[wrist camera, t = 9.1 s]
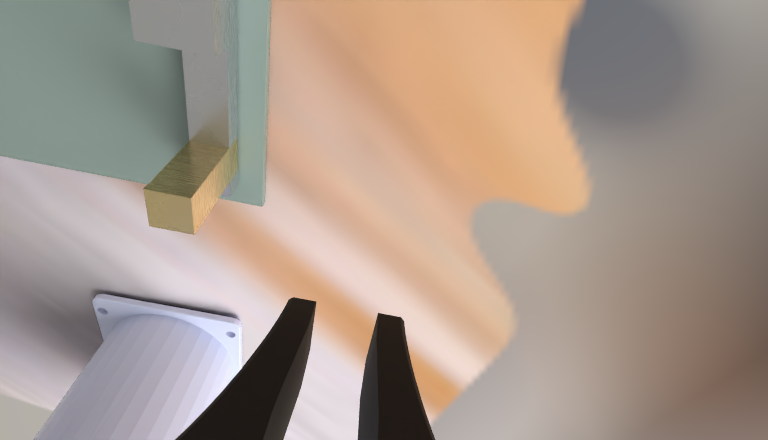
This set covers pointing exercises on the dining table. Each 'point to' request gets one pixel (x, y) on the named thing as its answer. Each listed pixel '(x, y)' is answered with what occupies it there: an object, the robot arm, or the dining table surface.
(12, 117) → the vise base
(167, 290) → the dining table surface
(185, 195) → the block
